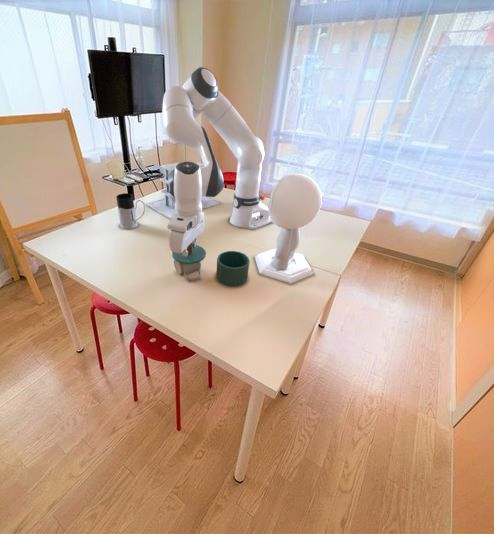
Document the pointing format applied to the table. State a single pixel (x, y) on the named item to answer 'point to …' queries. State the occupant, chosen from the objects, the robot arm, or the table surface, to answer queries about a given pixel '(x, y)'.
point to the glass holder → (127, 211)
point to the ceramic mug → (187, 269)
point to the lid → (191, 255)
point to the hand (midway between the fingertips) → (189, 251)
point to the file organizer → (168, 203)
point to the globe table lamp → (290, 227)
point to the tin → (232, 268)
